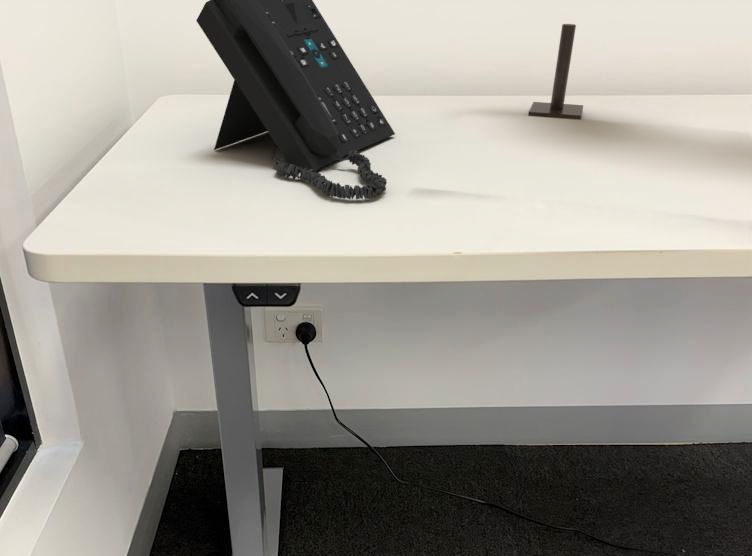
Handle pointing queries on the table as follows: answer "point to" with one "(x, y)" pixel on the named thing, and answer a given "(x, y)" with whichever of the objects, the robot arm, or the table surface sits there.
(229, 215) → the table surface
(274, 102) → the office phone
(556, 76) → the stand
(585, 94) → the table surface
